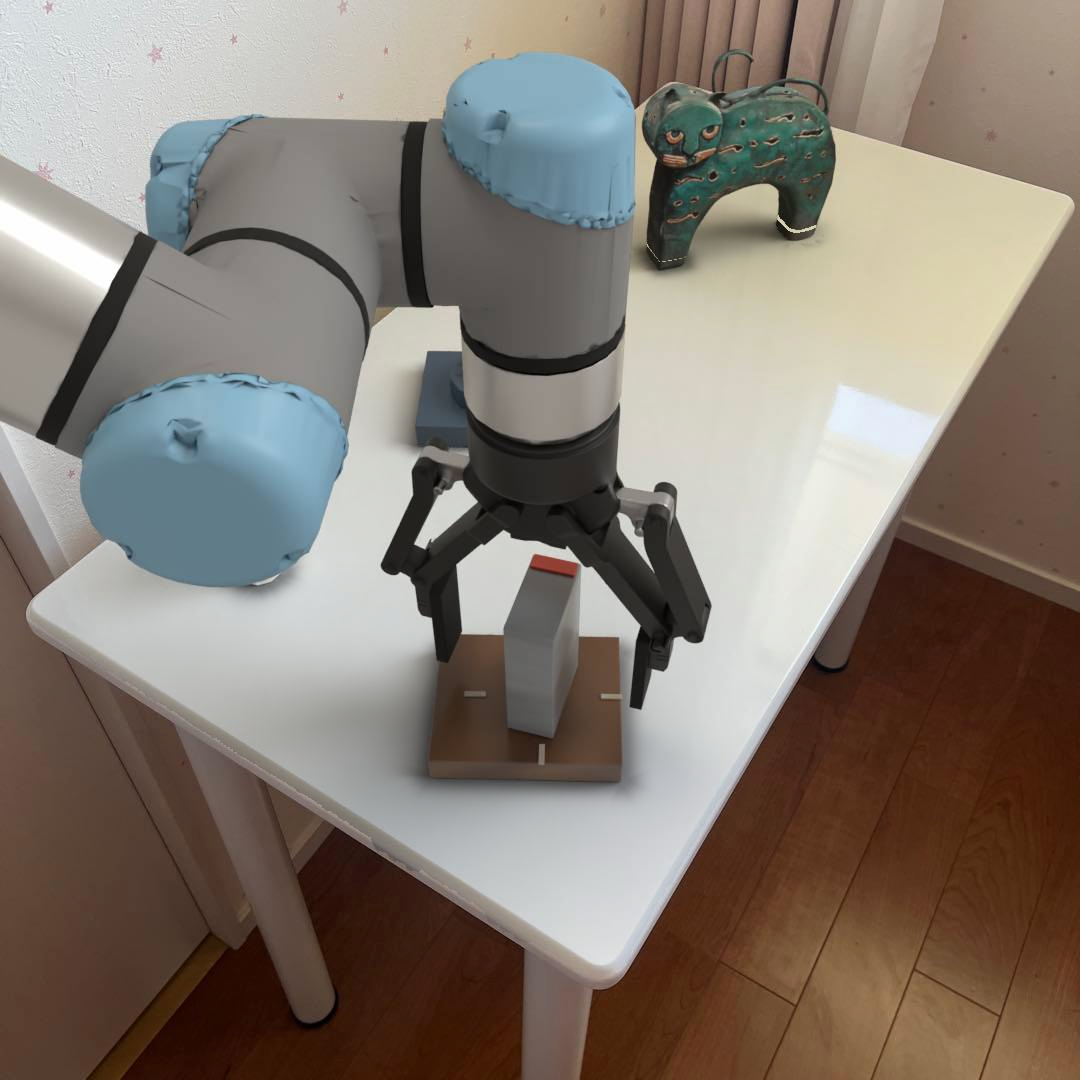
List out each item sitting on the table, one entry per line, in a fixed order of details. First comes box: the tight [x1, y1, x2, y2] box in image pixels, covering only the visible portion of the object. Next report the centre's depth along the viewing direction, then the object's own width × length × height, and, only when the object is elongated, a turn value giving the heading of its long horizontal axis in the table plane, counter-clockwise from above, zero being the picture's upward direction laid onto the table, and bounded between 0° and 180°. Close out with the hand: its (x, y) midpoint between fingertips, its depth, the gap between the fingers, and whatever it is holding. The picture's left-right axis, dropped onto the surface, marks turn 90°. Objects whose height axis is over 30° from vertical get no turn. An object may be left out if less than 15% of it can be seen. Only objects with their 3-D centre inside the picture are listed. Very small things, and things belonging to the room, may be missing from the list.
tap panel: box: [427, 633, 624, 783], centre depth 72 cm, size 12×10×2 cm
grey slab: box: [502, 553, 582, 738], centre depth 67 cm, size 6×3×10 cm, turn 163°
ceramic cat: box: [641, 48, 837, 271], centre depth 104 cm, size 20×6×20 cm, turn 109°
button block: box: [415, 350, 468, 448], centre depth 92 cm, size 12×10×4 cm
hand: (543, 668), depth 69 cm, fingers open, 12 cm apart
